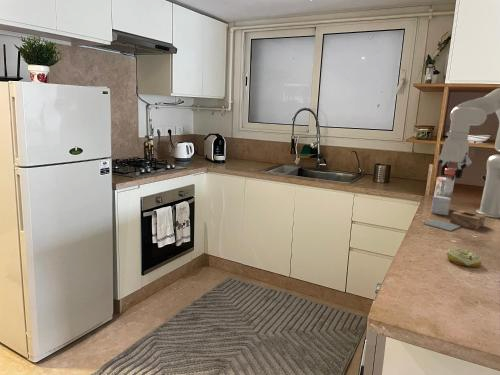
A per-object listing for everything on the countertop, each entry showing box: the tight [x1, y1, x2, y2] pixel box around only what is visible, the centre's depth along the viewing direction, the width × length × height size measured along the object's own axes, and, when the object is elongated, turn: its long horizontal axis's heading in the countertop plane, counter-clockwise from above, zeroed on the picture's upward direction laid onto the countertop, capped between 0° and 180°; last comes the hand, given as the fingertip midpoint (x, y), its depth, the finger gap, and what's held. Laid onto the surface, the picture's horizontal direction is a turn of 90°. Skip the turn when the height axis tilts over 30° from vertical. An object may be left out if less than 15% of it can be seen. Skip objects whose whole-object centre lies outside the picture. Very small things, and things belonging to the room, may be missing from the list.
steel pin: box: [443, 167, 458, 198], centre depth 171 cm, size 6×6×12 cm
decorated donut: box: [446, 247, 483, 268], centre depth 132 cm, size 10×11×4 cm
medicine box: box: [430, 195, 452, 216], centre depth 195 cm, size 8×4×9 cm, turn 65°
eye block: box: [449, 209, 487, 230], centre depth 179 cm, size 11×11×5 cm
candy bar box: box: [433, 176, 450, 198], centre depth 206 cm, size 11×5×16 cm, turn 168°
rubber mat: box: [423, 218, 462, 232], centre depth 175 cm, size 12×12×1 cm
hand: (450, 176), depth 170 cm, fingers closed on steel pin, 6 cm apart
